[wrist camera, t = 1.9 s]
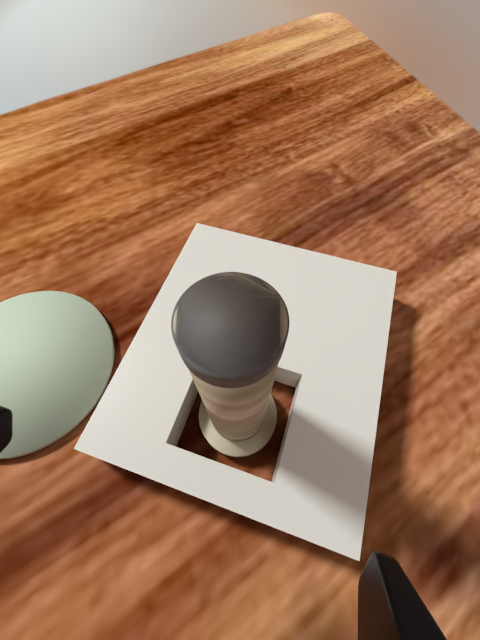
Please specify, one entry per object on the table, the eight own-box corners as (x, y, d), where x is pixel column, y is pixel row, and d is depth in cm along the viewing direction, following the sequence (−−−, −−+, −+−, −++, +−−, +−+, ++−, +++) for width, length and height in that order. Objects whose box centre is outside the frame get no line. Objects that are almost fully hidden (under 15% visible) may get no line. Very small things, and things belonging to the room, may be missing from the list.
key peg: (263, 469, 18) (290, 429, 7) (189, 442, 18) (114, 369, 8) (283, 394, 20) (329, 275, 9) (216, 372, 20) (186, 239, 10)
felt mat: (-16, 506, 17) (-23, 506, 16) (-94, 369, 21) (-101, 367, 20) (148, 363, 21) (146, 360, 20) (57, 269, 24) (54, 265, 24)
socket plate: (343, 552, 16) (359, 561, 14) (94, 454, 18) (73, 448, 16) (382, 293, 23) (396, 271, 21) (200, 246, 25) (196, 223, 23)
